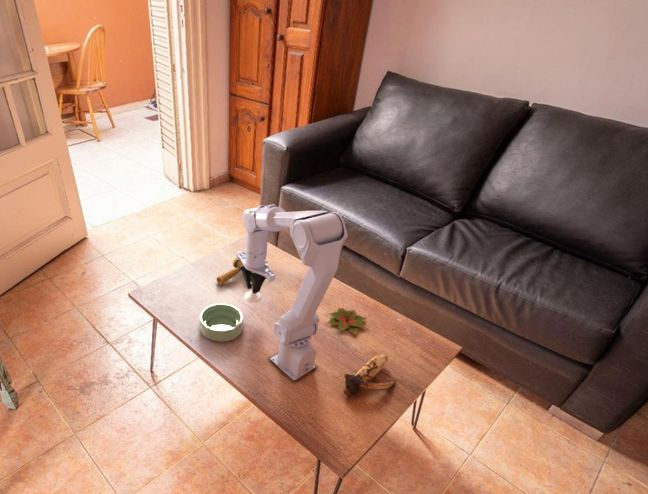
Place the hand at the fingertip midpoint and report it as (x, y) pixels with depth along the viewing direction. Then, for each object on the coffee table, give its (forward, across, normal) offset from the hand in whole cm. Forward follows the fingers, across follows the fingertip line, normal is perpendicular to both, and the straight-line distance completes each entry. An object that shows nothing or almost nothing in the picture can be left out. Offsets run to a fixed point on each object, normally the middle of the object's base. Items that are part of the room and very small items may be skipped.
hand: (253, 290), depth 123 cm
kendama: (+10, +19, -10) cm, 24 cm away
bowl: (+10, +1, +11) cm, 15 cm away
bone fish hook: (+10, -38, -8) cm, 41 cm away
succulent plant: (+10, -19, -21) cm, 30 cm away
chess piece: (+3, 0, 0) cm, 3 cm away
